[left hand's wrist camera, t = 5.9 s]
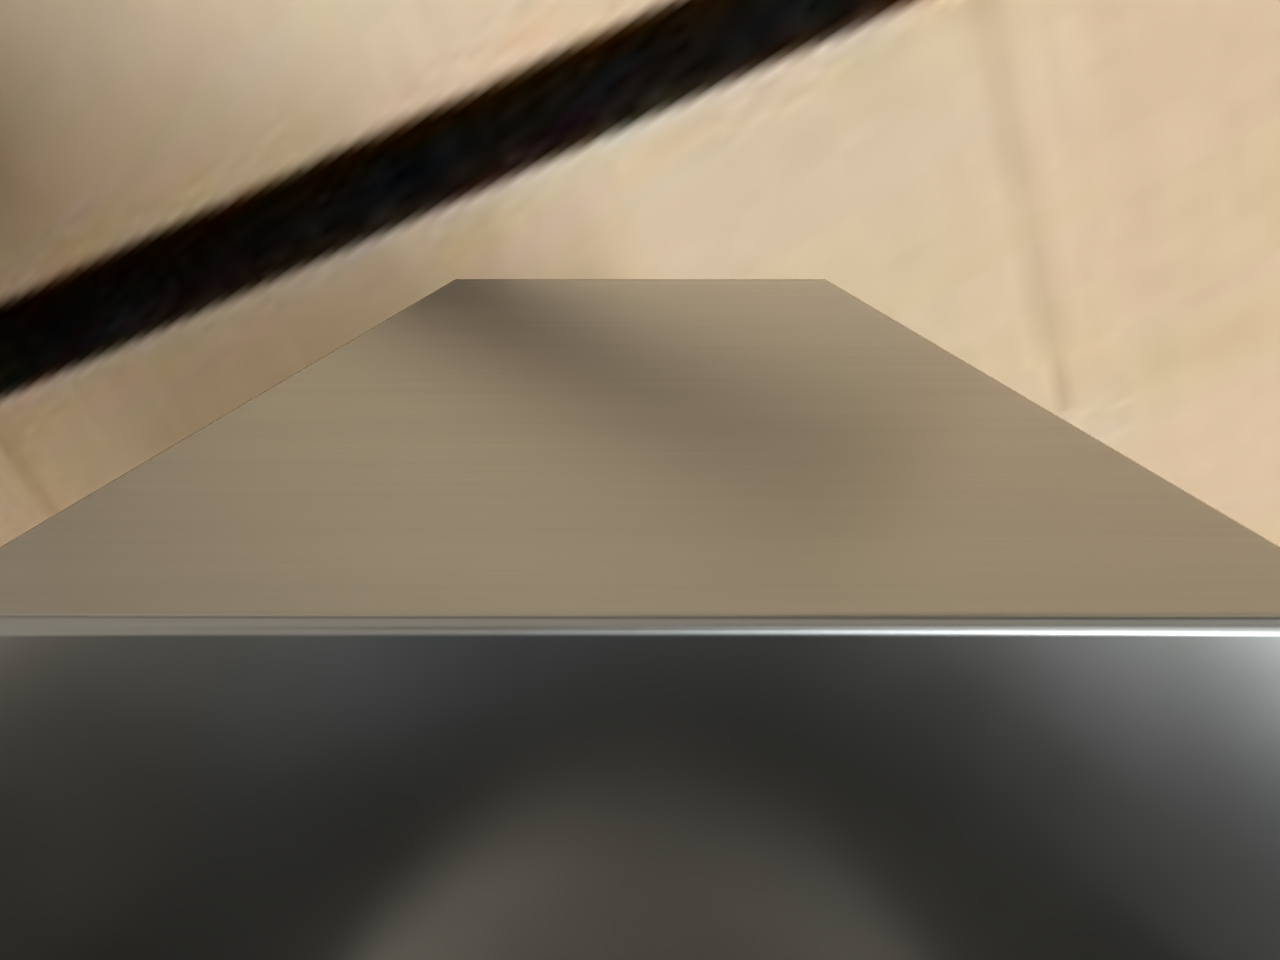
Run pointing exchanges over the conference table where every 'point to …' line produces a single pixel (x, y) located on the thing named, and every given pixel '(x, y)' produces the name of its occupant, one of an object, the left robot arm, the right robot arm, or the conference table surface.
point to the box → (640, 660)
